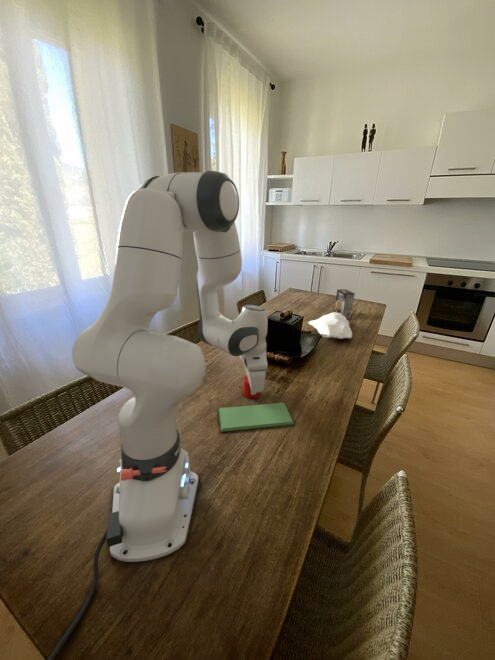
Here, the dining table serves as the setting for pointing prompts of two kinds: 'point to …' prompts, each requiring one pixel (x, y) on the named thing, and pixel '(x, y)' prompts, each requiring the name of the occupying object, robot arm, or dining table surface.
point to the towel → (254, 417)
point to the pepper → (248, 389)
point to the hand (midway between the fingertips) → (251, 387)
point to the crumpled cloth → (332, 326)
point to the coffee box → (344, 302)
